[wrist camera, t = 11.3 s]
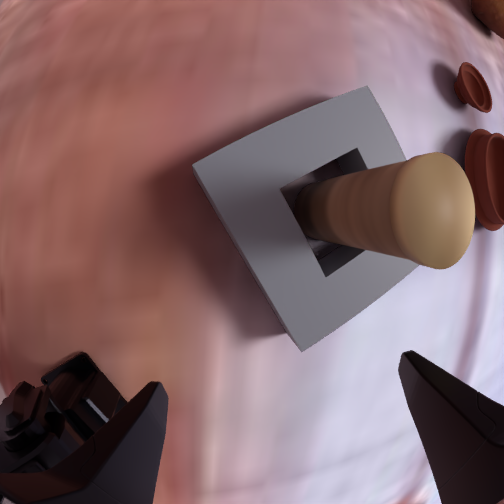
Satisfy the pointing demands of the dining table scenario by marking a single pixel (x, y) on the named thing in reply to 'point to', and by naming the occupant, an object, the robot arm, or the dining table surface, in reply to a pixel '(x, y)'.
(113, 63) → the dining table surface
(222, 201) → the socket block
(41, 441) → the robot arm
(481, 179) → the pottery
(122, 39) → the dining table surface
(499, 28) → the butternut squash
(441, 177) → the tan wooden cylinder
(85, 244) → the dining table surface
